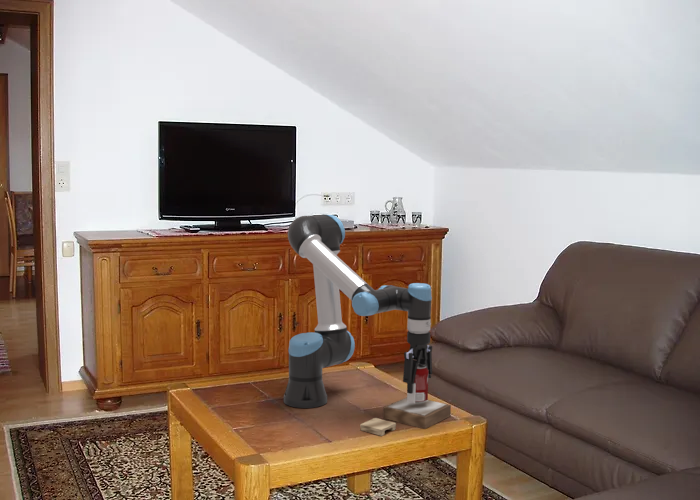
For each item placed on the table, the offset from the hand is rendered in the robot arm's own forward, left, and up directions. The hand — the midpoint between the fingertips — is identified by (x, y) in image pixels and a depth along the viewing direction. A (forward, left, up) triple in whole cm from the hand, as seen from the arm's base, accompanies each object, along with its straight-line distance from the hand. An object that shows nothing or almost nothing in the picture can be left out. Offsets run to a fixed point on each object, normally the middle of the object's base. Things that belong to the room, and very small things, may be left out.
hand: (417, 399), depth 253 cm
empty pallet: (-3, -18, -6) cm, 19 cm away
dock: (0, 0, -6) cm, 6 cm away
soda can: (0, 0, -1) cm, 1 cm away
